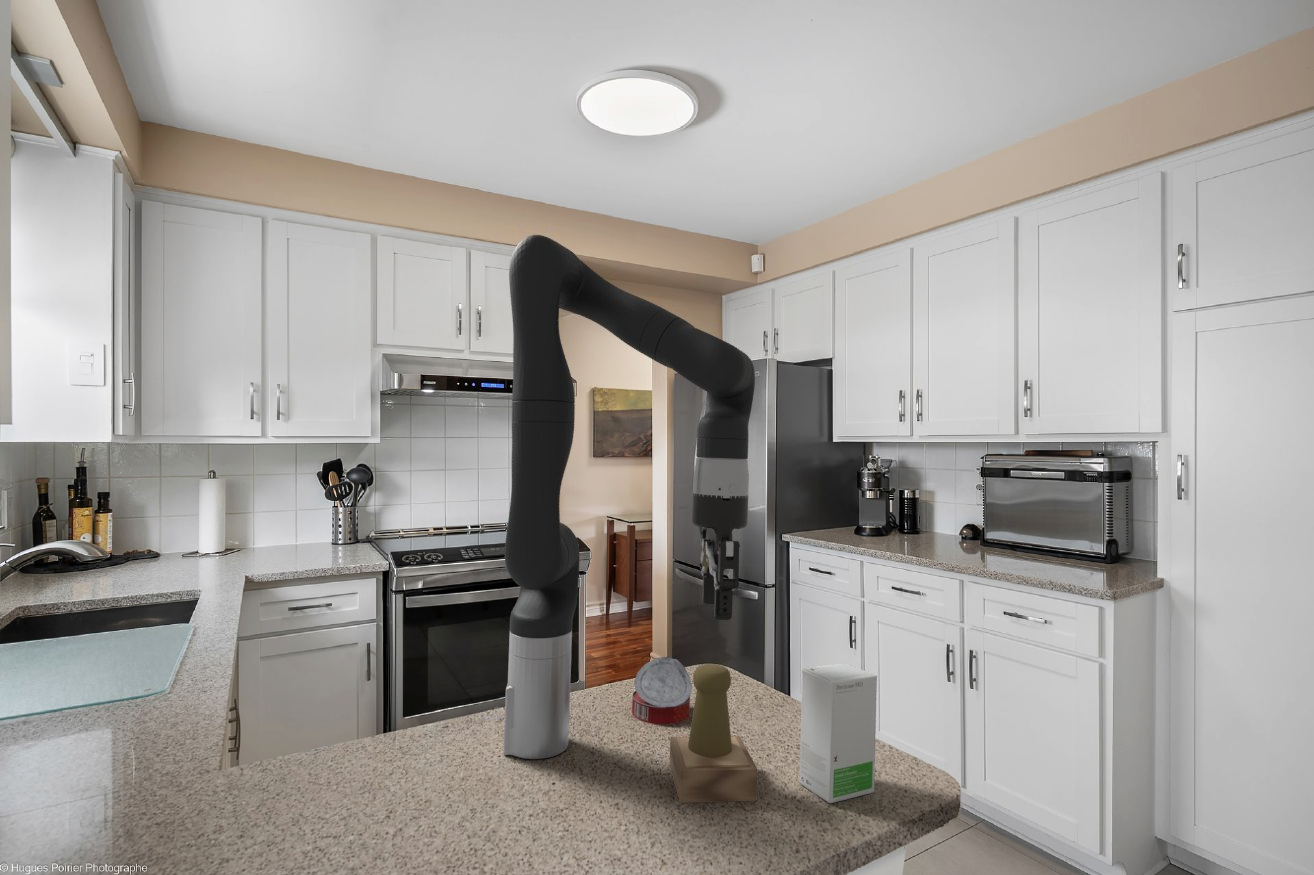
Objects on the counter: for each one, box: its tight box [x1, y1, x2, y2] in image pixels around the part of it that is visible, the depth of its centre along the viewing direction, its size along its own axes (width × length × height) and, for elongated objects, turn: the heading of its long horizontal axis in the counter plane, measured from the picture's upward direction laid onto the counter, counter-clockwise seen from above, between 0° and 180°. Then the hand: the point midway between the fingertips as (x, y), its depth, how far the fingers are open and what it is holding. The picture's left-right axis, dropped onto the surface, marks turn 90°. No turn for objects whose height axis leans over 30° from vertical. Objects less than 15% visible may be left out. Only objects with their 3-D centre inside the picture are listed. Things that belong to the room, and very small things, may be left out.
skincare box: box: [798, 663, 878, 804], centre depth 90 cm, size 8×7×16 cm
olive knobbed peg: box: [688, 663, 732, 757], centre depth 91 cm, size 6×6×11 cm
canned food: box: [631, 656, 693, 726], centre depth 114 cm, size 11×10×10 cm
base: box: [669, 735, 759, 804], centre depth 90 cm, size 10×10×4 cm
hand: (716, 611), depth 91 cm, fingers open, 8 cm apart
